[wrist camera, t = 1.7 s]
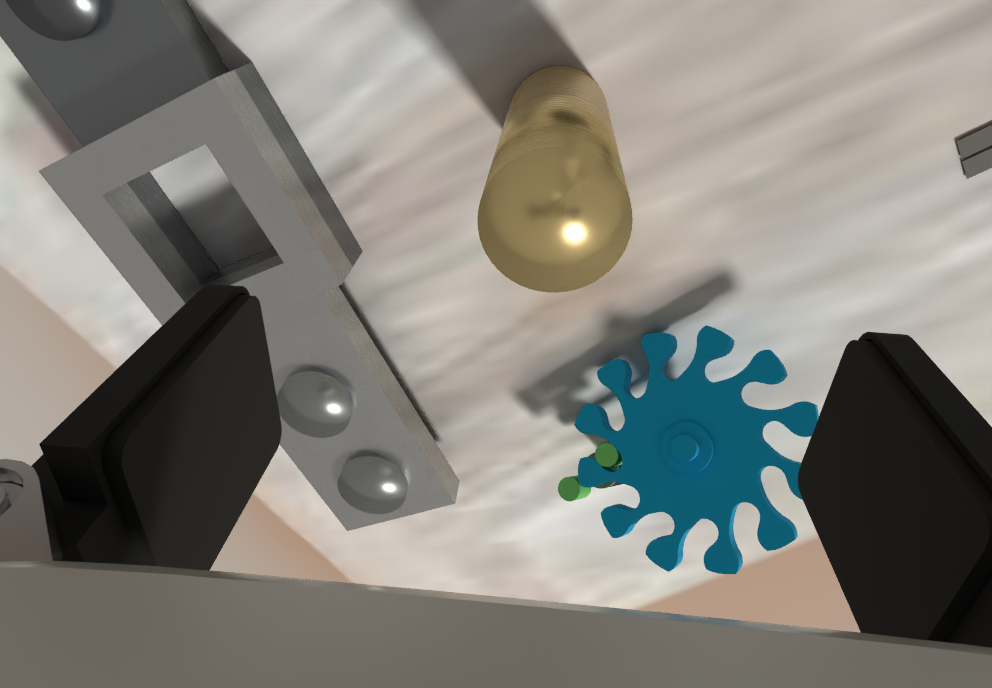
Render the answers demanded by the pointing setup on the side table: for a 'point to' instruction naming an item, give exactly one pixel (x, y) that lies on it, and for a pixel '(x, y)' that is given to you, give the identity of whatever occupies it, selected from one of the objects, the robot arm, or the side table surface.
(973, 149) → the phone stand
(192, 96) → the gray studded rail
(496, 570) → the side table surface
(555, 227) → the pin
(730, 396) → the gear
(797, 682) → the robot arm
